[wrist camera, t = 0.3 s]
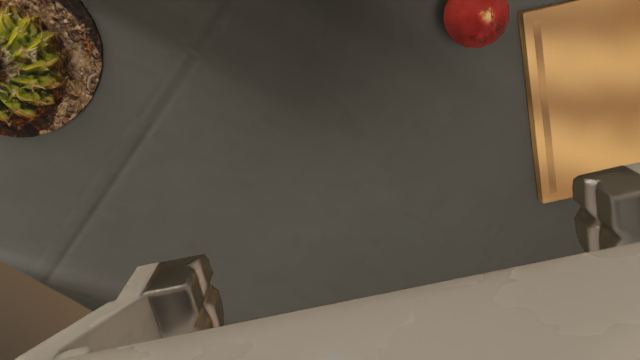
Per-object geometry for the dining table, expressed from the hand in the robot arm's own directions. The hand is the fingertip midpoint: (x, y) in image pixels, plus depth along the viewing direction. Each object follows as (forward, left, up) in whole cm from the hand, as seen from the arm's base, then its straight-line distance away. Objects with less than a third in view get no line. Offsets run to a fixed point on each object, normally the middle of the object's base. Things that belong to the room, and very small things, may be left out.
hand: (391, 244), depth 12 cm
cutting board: (+11, +26, -46) cm, 54 cm away
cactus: (-6, -30, -47) cm, 56 cm away
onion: (0, +14, -47) cm, 49 cm away
